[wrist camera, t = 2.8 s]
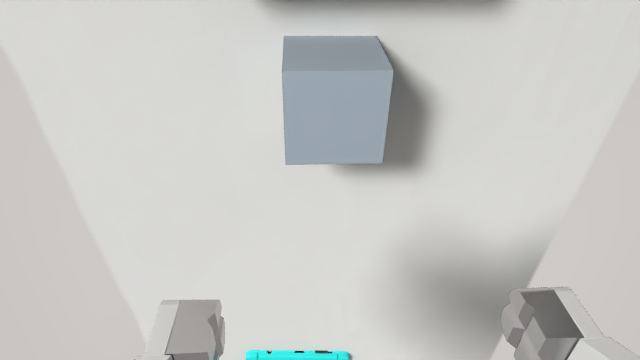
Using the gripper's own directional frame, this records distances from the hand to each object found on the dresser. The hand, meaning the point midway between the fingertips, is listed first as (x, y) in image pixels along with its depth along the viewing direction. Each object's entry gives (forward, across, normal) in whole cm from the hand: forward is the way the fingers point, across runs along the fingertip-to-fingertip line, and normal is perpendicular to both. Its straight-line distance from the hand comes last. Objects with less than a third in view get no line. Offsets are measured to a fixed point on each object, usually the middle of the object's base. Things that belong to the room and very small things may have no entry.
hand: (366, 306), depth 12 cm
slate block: (+16, 0, 0) cm, 16 cm away
